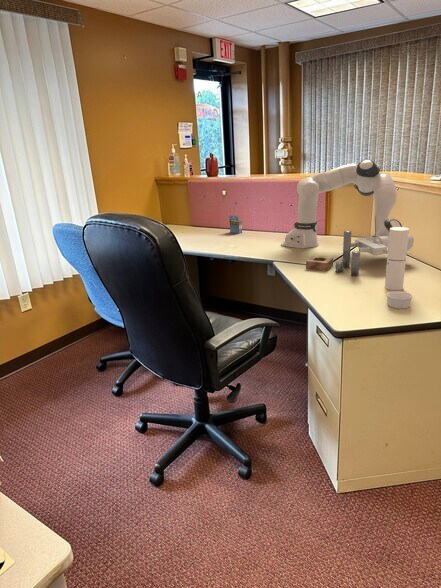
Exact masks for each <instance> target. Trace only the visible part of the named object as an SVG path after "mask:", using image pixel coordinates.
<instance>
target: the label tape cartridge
mask: <svg viewBox="0 0 441 588" xmlns="http://www.w3.org/2000/svg"><path fill="white" fill-rule="evenodd" d="M228 218H229V233H233V234H238V235H239V234H243V221H242V220H239V216H235V215H228Z"/></svg>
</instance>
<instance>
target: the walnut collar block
mask: <svg viewBox="0 0 441 588" xmlns="http://www.w3.org/2000/svg"><path fill="white" fill-rule="evenodd" d="M333 266H334V257H331V256H320V255H312V256H311V257H310V258H308V259H307V260H306V261H305V269H306V270H312V271H313V270H315V271H323V272H324V271H325V272H327V271H328V270H329V269H331V268H332V267H333Z"/></svg>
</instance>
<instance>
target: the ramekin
mask: <svg viewBox="0 0 441 588" xmlns="http://www.w3.org/2000/svg"><path fill="white" fill-rule="evenodd" d="M386 297H387V298H386V301H387V302H386V304H387V306H388V307H390V308H392V309H396V310H405V309H408V308H410V307H411V302H412V298H413V294H411V293H410V292H407V291H401V290H391V291H388V292H387V293H386Z"/></svg>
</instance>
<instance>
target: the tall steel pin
mask: <svg viewBox="0 0 441 588" xmlns="http://www.w3.org/2000/svg"><path fill="white" fill-rule="evenodd" d="M351 243H352V230H344V231H343V243H342V246H343V247H342V261H341V262H343V269H349V268H350V269H351V249H352V247H351Z"/></svg>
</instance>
